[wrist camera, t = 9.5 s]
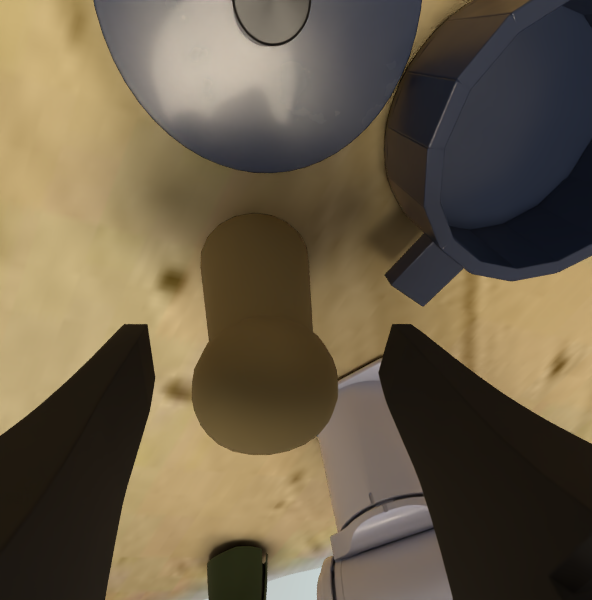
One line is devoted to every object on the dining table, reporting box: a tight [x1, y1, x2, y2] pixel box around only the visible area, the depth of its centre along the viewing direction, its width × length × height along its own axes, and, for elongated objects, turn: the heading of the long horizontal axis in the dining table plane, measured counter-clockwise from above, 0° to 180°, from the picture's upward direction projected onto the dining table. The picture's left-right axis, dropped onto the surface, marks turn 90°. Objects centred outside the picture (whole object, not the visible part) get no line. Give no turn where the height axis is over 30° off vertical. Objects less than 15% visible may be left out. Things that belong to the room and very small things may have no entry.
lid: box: [94, 0, 422, 173], centre depth 13 cm, size 12×12×4 cm
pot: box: [384, 0, 592, 306], centre depth 17 cm, size 11×17×5 cm
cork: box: [192, 213, 338, 455], centre depth 17 cm, size 6×6×11 cm
